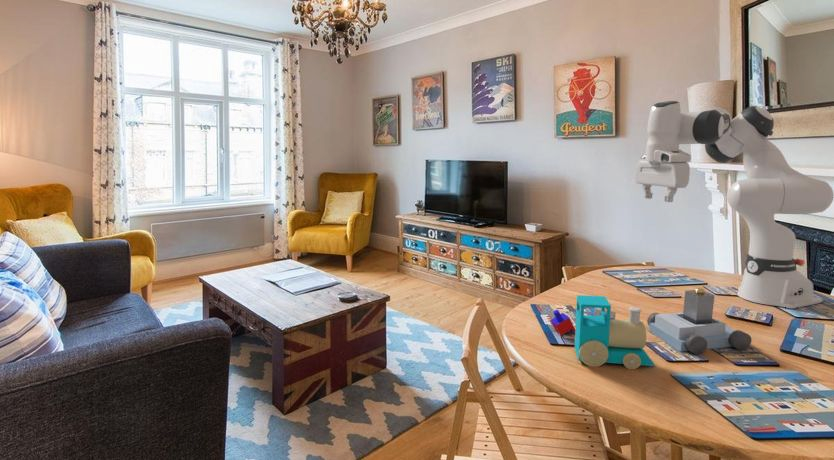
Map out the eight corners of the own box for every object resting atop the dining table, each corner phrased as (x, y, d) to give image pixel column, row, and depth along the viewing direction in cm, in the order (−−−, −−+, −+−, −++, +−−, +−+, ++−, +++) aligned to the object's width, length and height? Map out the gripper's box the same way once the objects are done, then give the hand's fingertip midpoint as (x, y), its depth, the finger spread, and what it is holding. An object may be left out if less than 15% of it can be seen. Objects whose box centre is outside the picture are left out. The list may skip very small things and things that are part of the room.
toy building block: (557, 335, 121) (546, 312, 119) (570, 327, 122) (558, 304, 120) (563, 340, 118) (552, 317, 116) (576, 332, 118) (565, 309, 116)
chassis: (702, 323, 123) (704, 305, 121) (753, 349, 107) (755, 328, 106) (644, 328, 120) (645, 309, 119) (686, 355, 105) (688, 334, 104)
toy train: (655, 371, 98) (661, 309, 95) (579, 366, 101) (581, 305, 98) (645, 355, 106) (649, 297, 103) (574, 350, 109) (576, 294, 106)
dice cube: (592, 332, 119) (593, 315, 118) (595, 325, 123) (596, 309, 122) (612, 335, 117) (613, 318, 116) (614, 329, 121) (615, 312, 120)
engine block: (697, 325, 116) (701, 286, 113) (710, 332, 111) (714, 291, 109) (681, 326, 115) (685, 287, 113) (694, 333, 111) (698, 292, 109)
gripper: (631, 155, 143) (628, 197, 145) (675, 156, 123) (671, 204, 125) (649, 155, 143) (646, 196, 146) (695, 155, 123) (691, 203, 126)
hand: (658, 200), depth 135 cm, fingers open, 8 cm apart
